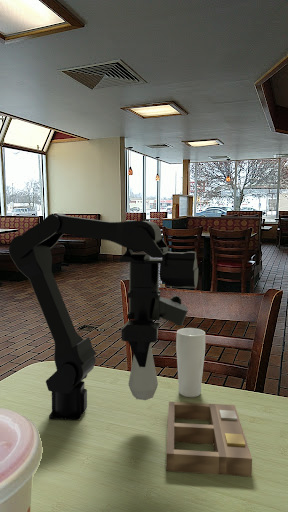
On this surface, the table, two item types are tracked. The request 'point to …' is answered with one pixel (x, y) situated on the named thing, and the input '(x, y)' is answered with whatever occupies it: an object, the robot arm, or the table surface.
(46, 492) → the table surface
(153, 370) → the salt shaker
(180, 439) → the socket block
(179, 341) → the drinking glass
